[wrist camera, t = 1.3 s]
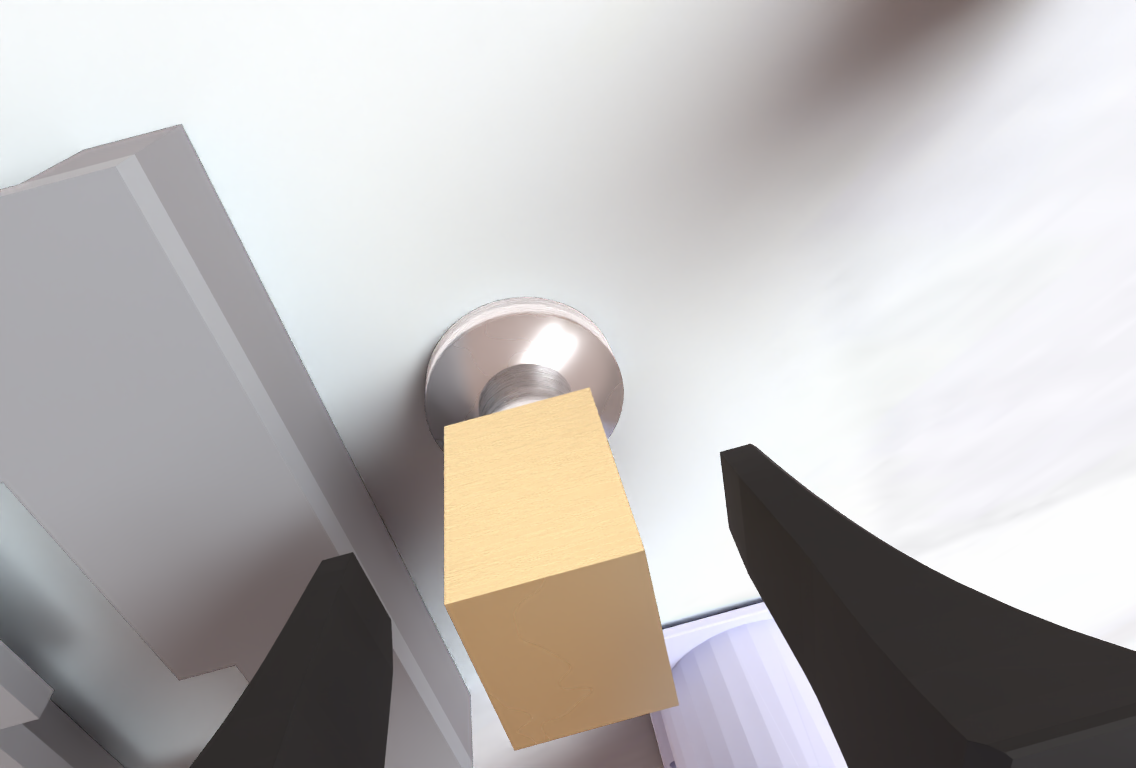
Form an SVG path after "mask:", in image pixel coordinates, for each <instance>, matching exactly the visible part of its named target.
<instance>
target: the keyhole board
mask: <svg viewBox="0 0 1136 768" xmlns="http://www.w3.org/2000/svg"><path fill="white" fill-rule="evenodd" d="M2 482H3V483H4V484H5V485H6V486H7V488H8V489H9V490H10V491H11V492H12V493H13V494H14V495H15V497H16V498H17V499H18V500H19V501H20V502H21V503H22V504H23V506H24V507H25V508H26V509H27V510H28V511H29V512H30V513H31V515H32V516H33V517H34V518H35V519H36V520H37V521H38V522H39V524H40V525H41V526H42V527H43V528H44V529H45V530H46V531H47V533H48V534H49V535H50V536H51V537H52V538H53V539H54V540H55V542H56V543H57V544H58V545H59V546H60V547H61V548H62V549H63V550H64V552H65V553H66V554H67V555H68V556H69V557H70V558H71V559H72V561H73V562H74V563H75V564H76V565H77V566H78V567H79V568H80V570H81V571H82V572H83V573H84V574H85V575H86V576H87V577H88V579H89V580H90V581H91V582H92V583H93V584H94V585H95V586H96V588H97V589H98V590H99V591H100V592H101V593H102V594H103V595H104V597H105V598H106V599H107V600H108V601H109V602H110V603H111V604H112V606H113V607H114V608H115V609H116V610H117V611H118V612H119V613H120V615H121V616H122V617H123V618H124V619H125V620H126V621H127V622H128V624H129V625H130V626H131V627H132V628H133V629H134V630H135V631H136V633H137V634H138V635H139V636H140V637H141V638H142V639H143V640H144V642H145V643H146V644H147V645H148V646H149V647H150V648H151V649H152V651H153V652H154V653H155V654H156V655H157V656H158V657H159V658H160V660H161V661H162V662H163V663H164V664H165V665H166V666H167V667H168V669H169V670H170V671H171V672H172V673H173V674H174V675H175V676H176V678H177V679H178V680H183V679H187V678H190V677H194V676H198V675H201V674H205V673H209V672H212V671H216V670H220V669H223V668H227V667H231V666H234V665H236V667H237V668H238V669H239V670H240V672H241V673H242V674H243V675H244V677H245V678H246V679H247V680H248V682H249V683H250V681H251V680H252V678H253V677H254V675H255V674H256V672H257V671H258V669H259V667H260V666H261V664H262V663H263V661H264V659H265V658H266V656H267V654H268V652H269V651H270V649H271V647H272V646H273V644H274V642H275V641H276V639H277V637H278V636H279V634H280V632H281V631H282V629H283V627H284V626H285V624H286V622H287V620H288V619H289V617H290V615H291V613H292V612H293V610H294V608H295V606H296V605H297V603H298V601H299V599H300V598H301V596H302V594H303V592H304V590H305V589H306V587H307V585H308V583H309V582H310V580H311V578H312V577H313V575H314V573H315V571H316V570H317V568H318V566H319V565H320V563H321V561H322V560H326V559H329V558H333V557H337V556H340V555H344V554H348V553H351V552H353V553H354V554H355V556H356V558H357V560H358V561H359V563H360V565H361V567H362V569H363V570H364V572H365V574H366V576H367V578H368V579H369V581H370V583H371V585H372V586H373V588H374V590H375V592H376V594H377V595H378V597H379V599H380V601H381V602H382V604H383V606H384V608H385V610H386V611H387V613H388V615H389V617H390V618H391V623H392V645H393V680H392V692H391V703H390V714H389V725H388V735H387V745H386V756H385V766H384V768H473V752H472V724H471V696H470V693H469V691H468V689H467V687H466V685H465V683H464V681H463V679H462V677H461V675H460V673H459V671H458V669H457V667H456V665H455V663H454V661H453V659H452V657H451V655H450V653H449V651H448V649H447V647H446V645H445V643H444V641H443V640H442V638H441V636H440V634H439V632H438V630H437V628H436V626H435V624H434V622H433V620H432V618H431V616H430V614H429V612H428V610H427V608H426V606H425V604H424V602H423V600H422V598H421V596H420V594H419V592H418V590H417V588H416V586H415V584H414V582H413V580H412V578H411V576H410V574H409V572H408V570H407V568H406V566H405V564H404V562H403V560H402V559H401V557H400V555H399V553H398V551H397V549H396V547H395V545H394V543H393V541H392V539H391V537H390V535H389V533H388V531H387V529H386V527H385V525H384V523H383V521H382V519H381V517H380V515H379V513H378V511H377V509H376V507H375V505H374V503H373V501H372V499H371V497H370V495H369V493H368V491H367V489H366V487H365V485H364V483H363V481H362V479H361V478H360V476H359V474H358V472H357V470H356V468H355V466H354V464H353V462H352V460H351V458H350V456H349V454H348V452H347V450H346V448H345V446H344V444H343V442H342V440H341V438H340V436H339V434H338V432H337V430H336V428H335V426H334V424H333V422H332V420H331V418H330V416H329V414H328V412H327V410H326V408H325V406H324V404H323V402H322V400H321V398H320V397H319V395H318V393H317V391H316V389H315V387H314V385H313V383H312V381H311V379H310V377H309V375H308V373H307V371H306V369H305V367H304V365H303V363H302V361H301V359H300V357H299V355H298V353H297V351H296V349H295V347H294V345H293V343H292V341H291V339H290V337H289V335H288V333H287V331H286V329H285V327H284V325H283V323H282V321H281V319H280V317H279V316H278V314H277V312H276V310H275V308H274V306H273V304H272V302H271V300H270V298H269V296H268V294H267V292H266V290H265V288H264V286H263V284H262V282H261V280H260V278H259V276H258V274H257V272H256V270H255V268H254V266H253V264H252V262H251V260H250V258H249V256H248V254H247V252H246V250H245V248H244V246H243V244H242V242H241V240H240V238H239V236H238V235H237V233H236V231H235V229H234V227H233V225H232V223H231V221H230V219H229V217H228V215H227V213H226V211H225V209H224V207H223V205H222V203H221V201H220V199H219V197H218V195H217V193H216V191H215V189H214V187H213V185H212V183H211V181H210V179H209V177H208V175H207V173H206V171H205V169H204V167H203V165H202V163H201V161H200V159H199V157H198V155H197V154H196V152H195V150H194V148H193V146H192V144H191V142H190V140H189V138H188V136H187V134H186V132H185V130H184V128H183V126H182V124H180V125H176V126H172V127H169V128H165V129H161V130H157V131H153V132H150V133H146V134H142V135H138V136H134V137H130V138H127V139H123V140H119V141H115V142H111V143H108V144H104V145H100V146H96V147H92V148H89V149H85V150H83V151H81V152H79V153H77V154H75V155H73V156H71V157H69V158H68V159H66V160H64V161H62V162H60V163H58V164H56V165H55V166H53V167H51V168H49V169H47V170H45V171H43V172H42V173H40V174H38V175H36V176H34V177H32V178H30V179H29V180H27V181H25V182H23V183H21V184H19V185H15V186H12V187H8V188H4V189H0V483H2ZM53 692H54V689H53V688H52V687H50V686H49V685H48V684H47V683H46V682H45V681H44V680H43V679H42V678H41V677H40V676H39V675H38V674H37V673H35V672H34V671H33V670H32V669H31V668H30V667H29V666H28V665H27V664H26V663H25V662H24V661H23V660H22V659H20V658H19V657H18V656H17V655H16V654H15V653H14V652H13V651H12V650H11V649H10V648H9V647H8V646H7V645H5V644H4V643H3V642H2V641H1V640H0V768H124V767H123V766H122V765H121V764H120V763H119V762H118V761H117V760H115V759H114V758H113V757H112V756H111V755H110V754H109V753H108V752H107V751H106V750H105V749H103V748H102V747H101V746H100V745H99V744H98V743H97V742H96V741H95V740H94V739H93V738H91V737H90V736H89V735H88V734H87V733H86V732H85V731H84V730H83V729H82V728H81V727H79V726H78V725H77V724H76V723H75V722H74V721H73V720H72V719H71V718H70V717H69V716H67V715H66V714H65V713H64V712H63V711H62V710H61V709H60V708H59V707H58V706H57V705H55V704H54V703H53V702H52V701H51V700H50V697H51V696H52V694H53Z"/></svg>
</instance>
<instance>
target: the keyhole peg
mask: <svg viewBox="0 0 1136 768" xmlns="http://www.w3.org/2000/svg"><path fill="white" fill-rule="evenodd" d="M623 394H624V389H623V381H622V376H621V373H620V369H619V367H618V364H617V362H616V360H615V357H614V355H613V353H612V350H611V348H610V346H609V344H608V342H607V340H606V338H605V337H604V335H603V334H602V332H601V331H600V329H599V328H598V327H597V326H596V325H595V324H594V323H593V322H592V321H591V320H590V319H589V318H587V317H586V316H585V315H584V314H582V313H580V312H579V311H577V310H575V309H574V308H572V307H569V306H567V305H565V304H563V303H560V302H556V301H553V300H549V299H543V298H537V297H517V298H508V299H503V300H498V301H495V302H492V303H489V304H486V305H483V306H481V307H479V308H477V309H475V310H473V311H471V312H470V313H468V314H467V315H465V316H463V317H462V318H461V319H459V320H458V321H457V322H456V323H455V324H453V325H452V326H451V327H450V328H449V329H448V331H447V332H446V333H445V334H444V335H443V336H442V338H441V339H440V341H439V342H438V344H437V345H436V347H435V349H434V351H433V353H432V355H431V358H430V361H429V364H428V368H427V374H426V390H425V412H426V418H427V422H428V425H429V429H430V431H431V433H432V435H433V437H434V439H435V441H436V442H437V444H438V445H439V447H440V448H441V449H442V450H443V452H444V605H445V607H446V610H447V612H448V614H449V616H450V618H451V620H452V622H453V624H454V626H455V628H456V630H457V632H458V634H459V636H460V639H461V641H462V643H463V645H464V647H465V649H466V651H467V653H468V655H469V657H470V659H471V661H472V663H473V665H474V668H475V670H476V672H477V674H478V676H479V678H480V680H481V682H482V684H483V686H484V688H485V690H486V692H487V694H488V697H489V699H490V701H491V703H492V705H493V707H494V709H495V711H496V713H497V715H498V717H499V719H500V721H501V723H502V725H503V728H504V730H505V732H506V734H507V736H508V738H509V740H510V742H511V744H512V746H513V748H514V750H519V749H522V748H526V747H530V746H533V745H537V744H540V743H544V742H548V741H551V740H555V739H559V738H562V737H566V736H569V735H573V734H577V733H580V732H584V731H588V730H591V729H595V728H598V727H602V726H606V725H609V724H613V723H617V722H620V721H624V720H627V719H631V718H635V717H638V716H642V715H646V714H649V713H653V712H656V711H660V710H664V709H667V708H671V707H675V706H678V705H679V702H678V698H677V693H676V689H675V684H674V680H673V675H672V671H671V666H670V662H669V657H668V653H667V648H666V644H665V639H664V635H663V630H662V626H661V622H660V617H659V613H658V608H657V604H656V599H655V595H654V590H653V586H652V581H651V577H650V572H649V568H648V563H647V559H646V554H645V550H644V547H643V544H642V541H641V538H640V535H639V532H638V529H637V526H636V523H635V520H634V517H633V514H632V511H631V508H630V505H629V502H628V500H627V497H626V494H625V491H624V488H623V485H622V482H621V479H620V476H619V473H618V470H617V467H616V464H615V461H614V458H613V455H612V452H611V449H610V446H609V443H608V438H609V437H610V435H611V434H612V432H613V430H614V428H615V426H616V424H617V422H618V420H619V417H620V414H621V411H622V405H623Z"/></svg>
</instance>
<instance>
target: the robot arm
mask: <svg viewBox="0 0 1136 768" xmlns="http://www.w3.org/2000/svg"><path fill="white" fill-rule="evenodd" d="M720 457H721V465H722V473H723V482H724V490H725V498H726V507H727V515H728V523H729V529H730V531H731V534H732V536H733V538H734V541H735V543H736V546H737V548H738V551H739V553H740V555H741V558H742V560H743V562H744V565H745V567H746V569H747V572H748V574H749V576H750V578H751V580H752V581H753V583H754V585H755V587H756V589H757V590H758V592H759V594H760V596H761V597H762V599H763V601H764V602H761V603H758V604H754V605H750V606H747V607H743V608H739V609H736V610H732V611H728V612H725V613H721V614H718V615H714V616H710V617H707V618H703V619H699V620H696V621H692V622H688V623H685V624H681V625H677V626H674V627H670V628H666V629H663V635H664V639H665V644H666V648H667V653H668V657H669V662H670V666H671V671H672V675H673V680H674V684H675V689H676V693H677V698H678V702H679V705H678V706H675V707H671V708H667V709H664V710H660V711H656V712H653V713H650V717H651V720H652V724H653V728H654V732H655V735H656V739H657V743H658V747H659V750H660V754H661V758H662V762H663V765H664V768H1136V651H1133V650H1130V649H1127V648H1124V647H1121V646H1118V645H1115V644H1112V643H1109V642H1106V641H1103V640H1100V639H1097V638H1094V637H1091V636H1088V635H1085V634H1082V633H1079V632H1076V631H1073V630H1070V629H1067V628H1065V627H1062V626H1059V625H1057V624H1054V623H1052V622H1049V621H1047V620H1044V619H1041V618H1039V617H1036V616H1034V615H1031V614H1029V613H1026V612H1023V611H1021V610H1019V609H1016V608H1014V607H1011V606H1009V605H1007V604H1005V603H1002V602H1000V601H998V600H996V599H994V598H991V597H989V596H987V595H985V594H983V593H980V592H978V591H976V590H974V589H972V588H969V587H967V586H965V585H963V584H961V583H958V582H956V581H954V580H952V579H950V578H948V577H947V576H945V575H943V574H941V573H939V572H937V571H935V570H933V569H931V568H929V567H927V566H925V565H924V564H922V563H920V562H918V561H916V560H915V559H913V558H911V557H909V556H907V555H906V554H904V553H902V552H901V551H899V550H897V549H895V548H894V547H892V546H890V545H889V544H887V543H886V542H884V541H882V540H881V539H879V538H877V537H876V536H874V535H873V534H871V533H870V532H868V531H867V530H865V529H864V528H862V527H860V526H859V525H857V524H856V523H854V522H853V521H852V520H850V519H849V518H847V517H846V516H844V515H843V514H841V513H840V512H839V511H837V510H836V509H834V508H833V507H832V506H830V505H829V504H827V503H826V502H825V501H823V500H822V499H821V498H819V497H818V496H816V495H815V494H814V493H812V492H811V491H810V490H808V489H807V488H806V487H805V486H803V485H802V484H801V483H799V482H798V481H797V480H796V479H794V478H793V477H792V476H791V475H789V474H788V473H787V472H786V471H784V470H783V469H782V468H781V467H780V466H778V465H777V464H776V463H775V462H774V461H772V460H771V459H770V458H769V457H768V456H766V455H765V454H764V453H763V452H762V451H761V450H759V449H758V448H757V447H756V446H754V445H752V444H748V445H744V446H741V447H737V448H733V449H730V450H726V451H722V452H720ZM392 680H393V645H392V623H391V618H390V617H389V615H388V613H387V611H386V610H385V608H384V606H383V604H382V602H381V601H380V599H379V597H378V595H377V594H376V592H375V590H374V588H373V586H372V585H371V583H370V581H369V579H368V578H367V576H366V574H365V572H364V570H363V569H362V567H361V565H360V563H359V561H358V560H357V558H356V556H355V554H354V553H353V552H351V553H348V554H344V555H340V556H337V557H333V558H329V559H326V560H322V561H321V563H320V565H319V566H318V568H317V570H316V571H315V573H314V575H313V577H312V578H311V580H310V582H309V583H308V585H307V587H306V589H305V590H304V592H303V594H302V596H301V598H300V599H299V601H298V603H297V605H296V606H295V608H294V610H293V612H292V613H291V615H290V617H289V619H288V620H287V622H286V624H285V626H284V627H283V629H282V631H281V632H280V634H279V636H278V637H277V639H276V641H275V642H274V644H273V646H272V647H271V649H270V651H269V652H268V654H267V656H266V658H265V659H264V661H263V663H262V664H261V666H260V667H259V669H258V671H257V672H256V674H255V675H254V677H253V678H252V680H251V681H250V683H249V685H248V686H247V688H246V689H245V691H244V692H243V694H242V695H241V697H240V698H239V700H238V701H237V703H236V704H235V706H234V707H233V709H232V711H231V712H230V713H229V715H228V716H227V718H226V719H225V721H224V722H223V723H222V725H221V726H220V728H219V729H218V730H217V732H216V733H215V735H214V736H213V737H212V739H211V740H210V741H209V743H208V744H207V745H206V747H205V748H204V749H203V751H202V752H201V753H200V754H199V756H198V757H197V758H196V760H195V761H194V762H193V764H192V765H191V766H190V768H384V766H385V756H386V745H387V735H388V725H389V714H390V703H391V692H392Z"/></svg>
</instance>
